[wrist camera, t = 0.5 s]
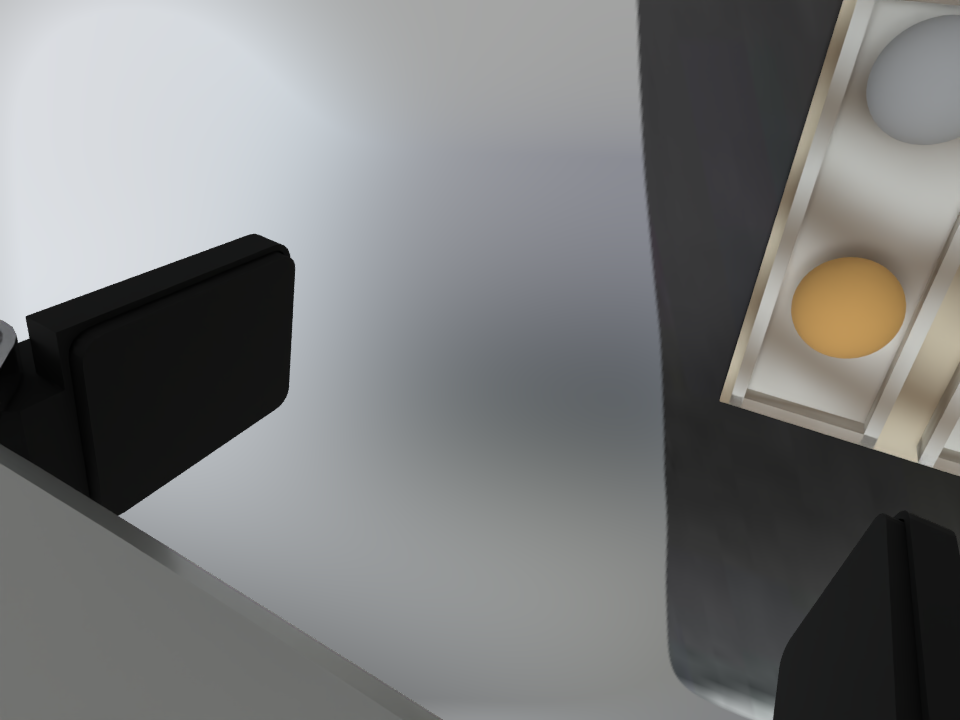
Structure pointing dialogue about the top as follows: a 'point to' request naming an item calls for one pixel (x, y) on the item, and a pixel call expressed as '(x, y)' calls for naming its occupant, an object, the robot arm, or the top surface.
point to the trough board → (870, 235)
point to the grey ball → (919, 83)
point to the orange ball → (848, 307)
